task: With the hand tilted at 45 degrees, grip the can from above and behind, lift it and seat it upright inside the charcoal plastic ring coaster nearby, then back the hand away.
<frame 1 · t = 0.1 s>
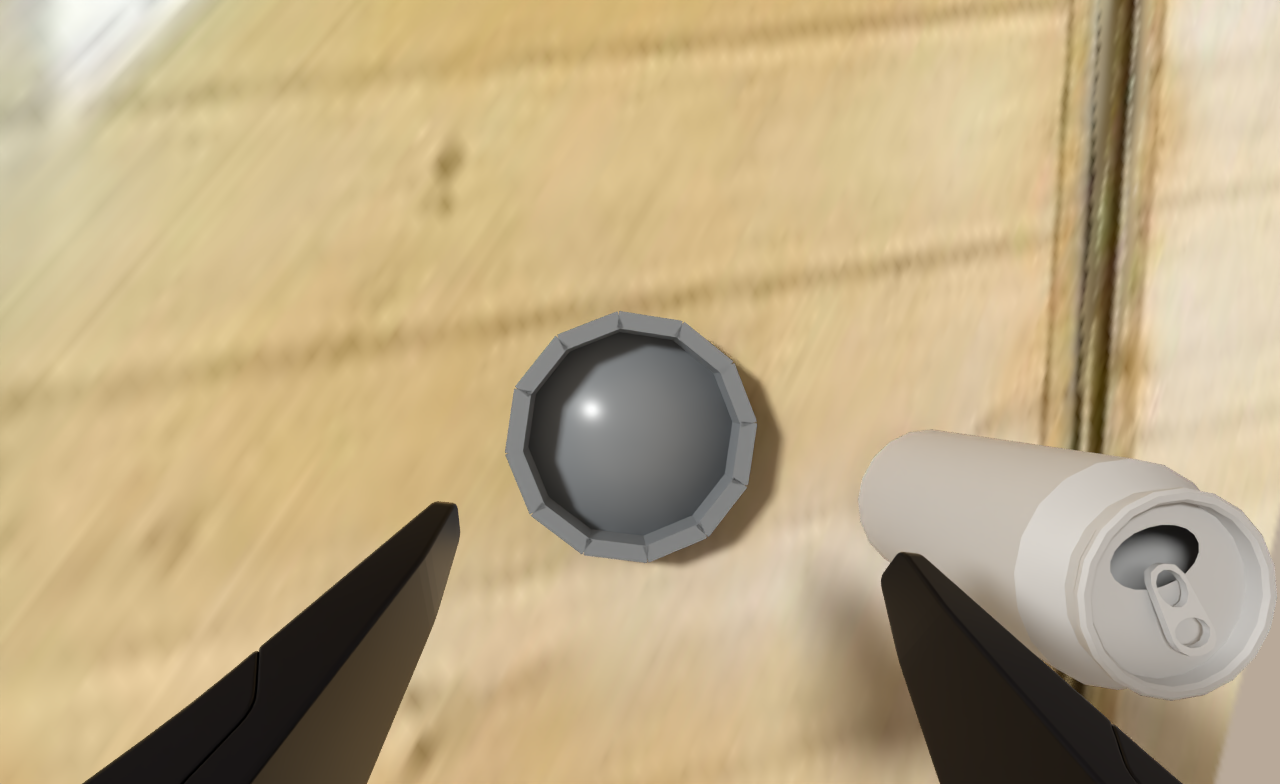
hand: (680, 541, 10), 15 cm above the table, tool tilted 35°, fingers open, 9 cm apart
can: (914, 496, 26), on the table
ring coaster: (631, 433, 24), on the table
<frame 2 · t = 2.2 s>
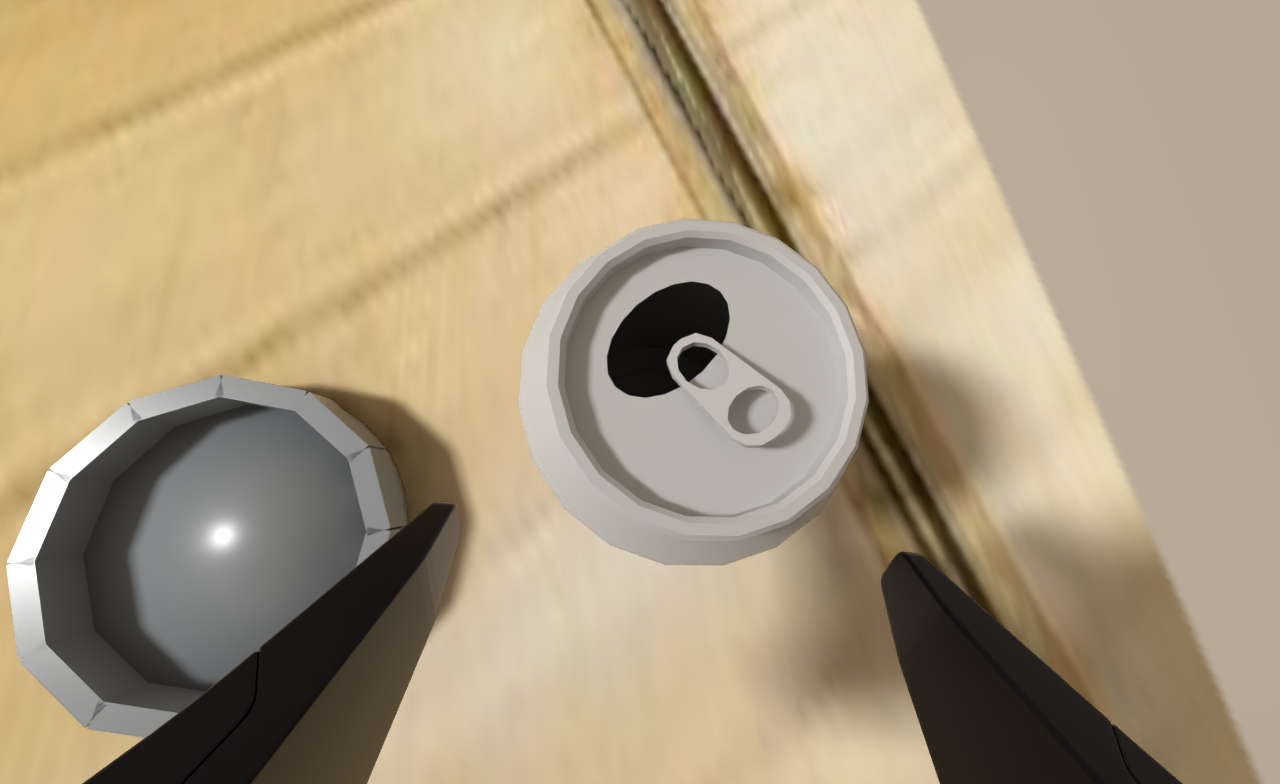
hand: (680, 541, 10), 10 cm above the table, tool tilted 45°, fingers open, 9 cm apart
can: (645, 436, 20), on the table
ring coaster: (250, 539, 18), on the table
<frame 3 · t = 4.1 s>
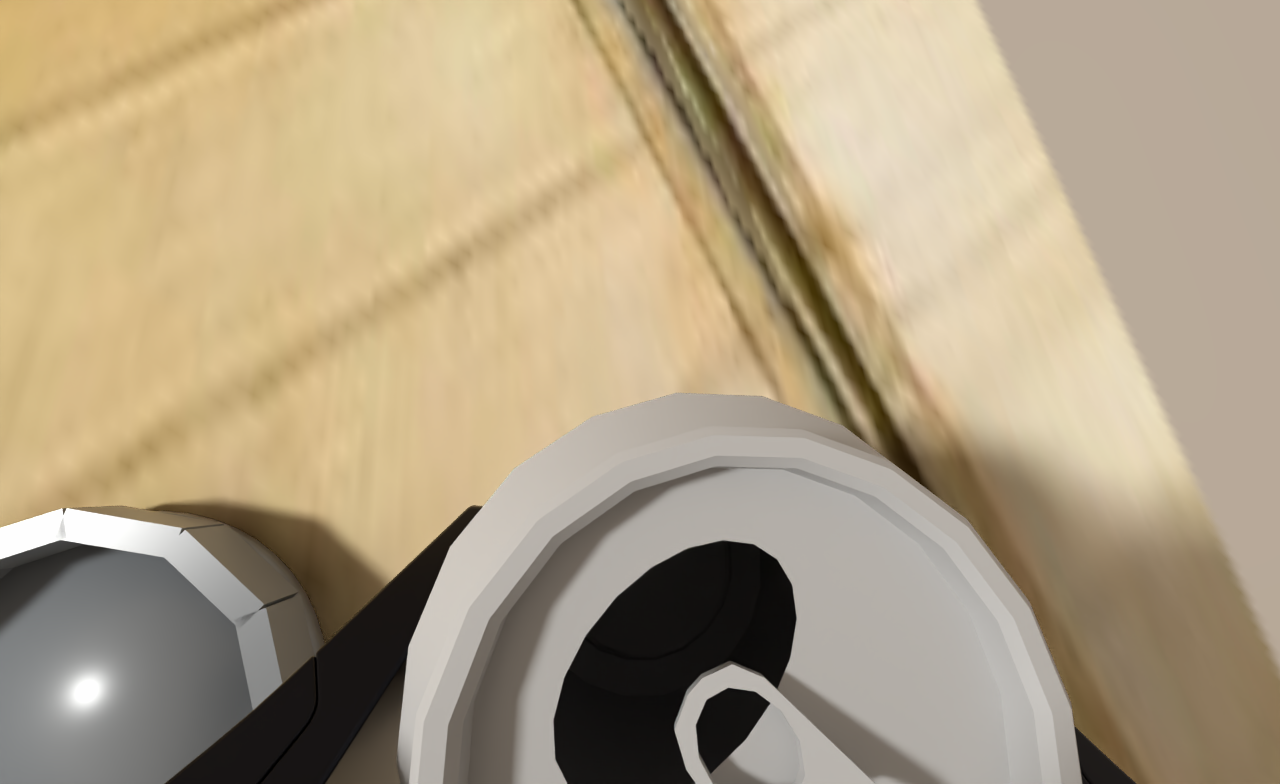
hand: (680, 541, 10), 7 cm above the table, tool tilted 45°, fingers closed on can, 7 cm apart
can: (642, 560, 16), on the table, touching gripper
ring coaster: (115, 717, 14), on the table
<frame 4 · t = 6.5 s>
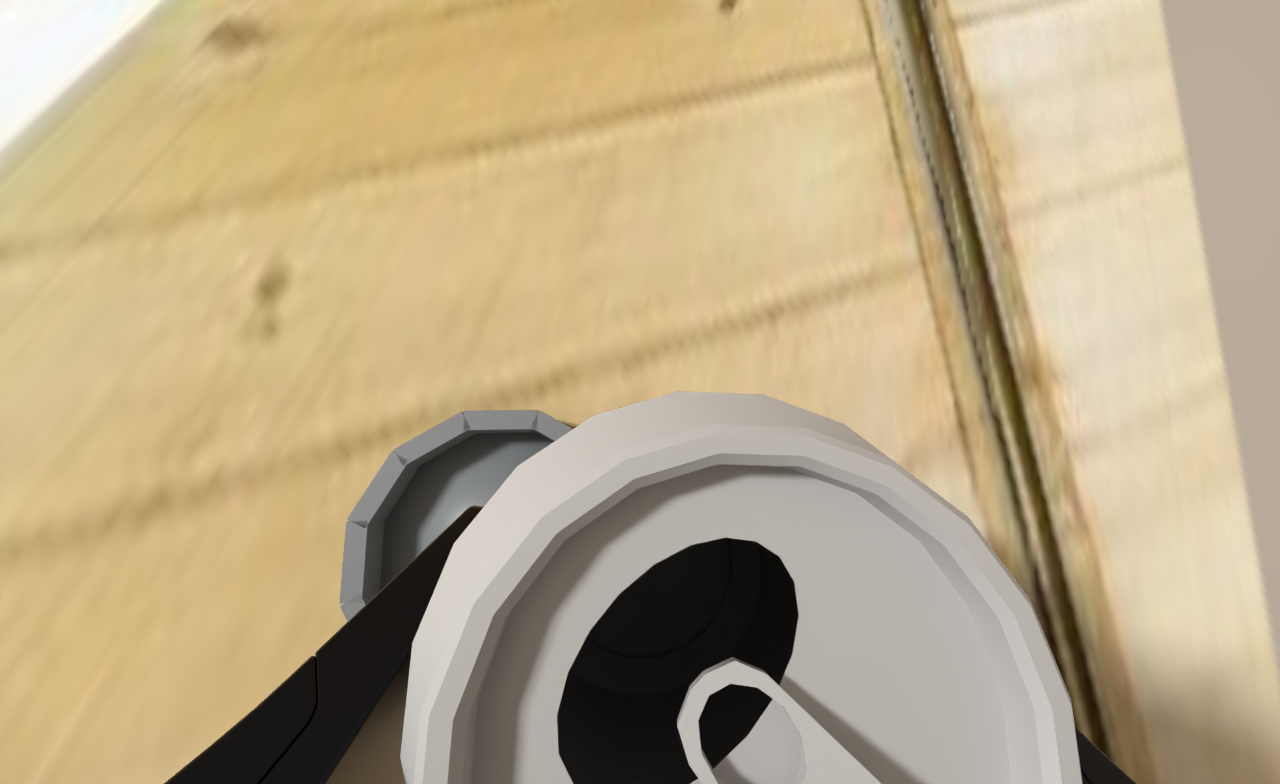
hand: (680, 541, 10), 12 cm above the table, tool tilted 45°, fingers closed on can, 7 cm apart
can: (642, 558, 16), point 5 cm above the table, touching gripper
ring coaster: (507, 547, 21), on the table
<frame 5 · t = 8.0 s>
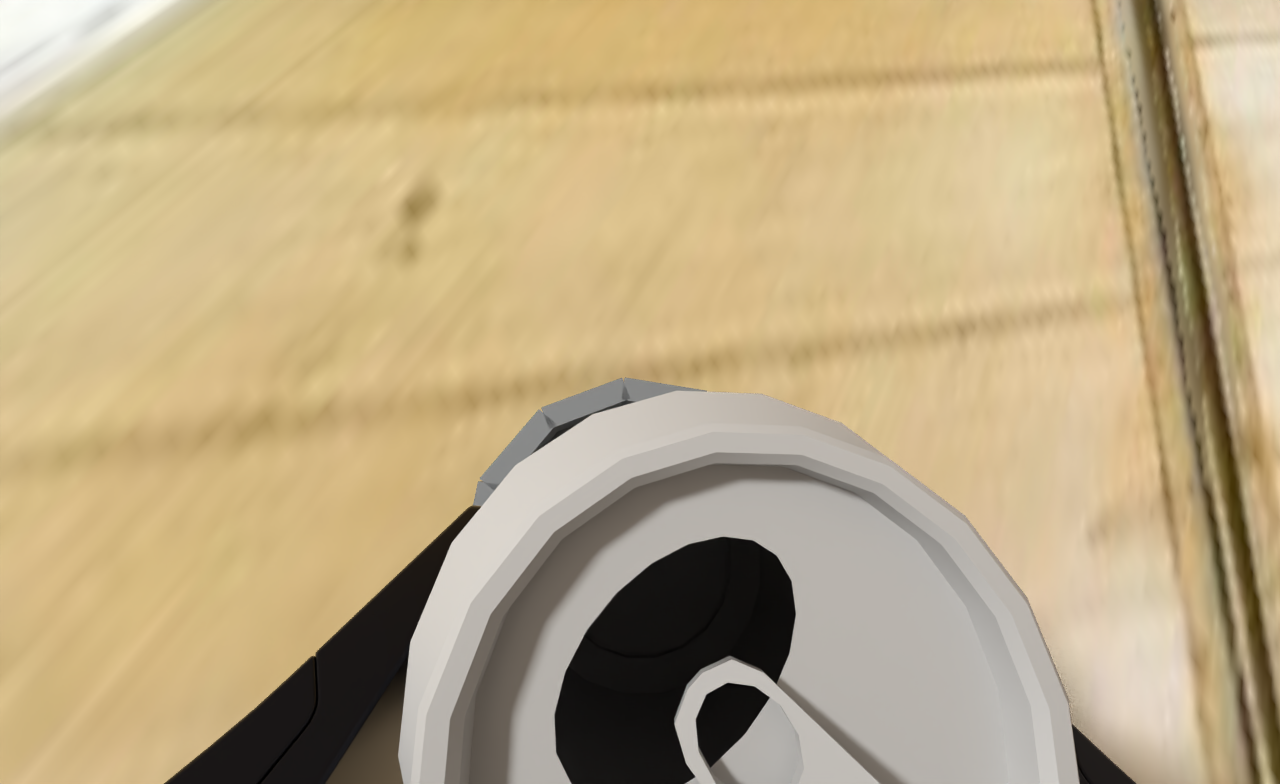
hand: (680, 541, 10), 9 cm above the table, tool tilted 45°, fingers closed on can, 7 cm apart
can: (642, 558, 16), point 2 cm above the table, touching gripper
ring coaster: (637, 543, 18), on the table
when the fingers open (9 cm above the table, at t = 9.1 s): can drops 1 cm, resting on ring coaster.
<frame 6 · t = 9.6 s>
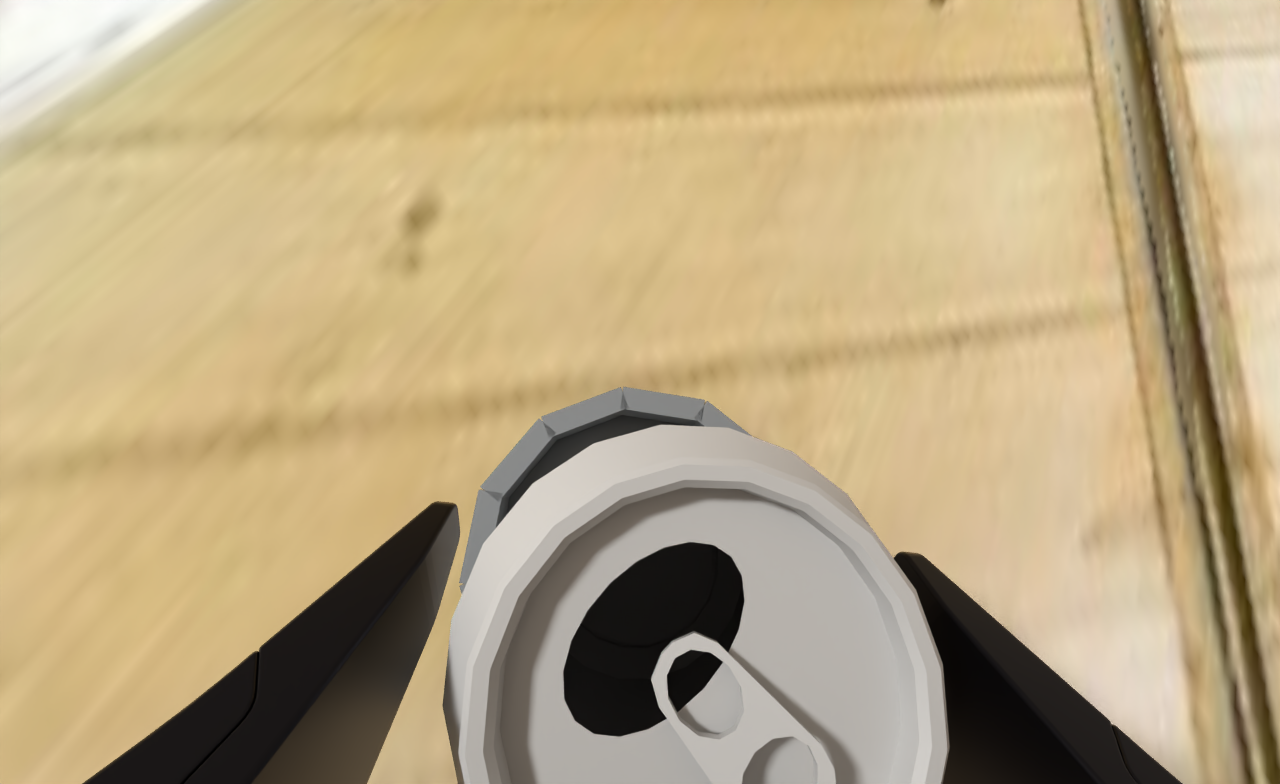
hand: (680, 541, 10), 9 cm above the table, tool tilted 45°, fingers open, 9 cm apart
can: (636, 557, 18), resting on ring coaster
ring coaster: (636, 550, 18), on the table
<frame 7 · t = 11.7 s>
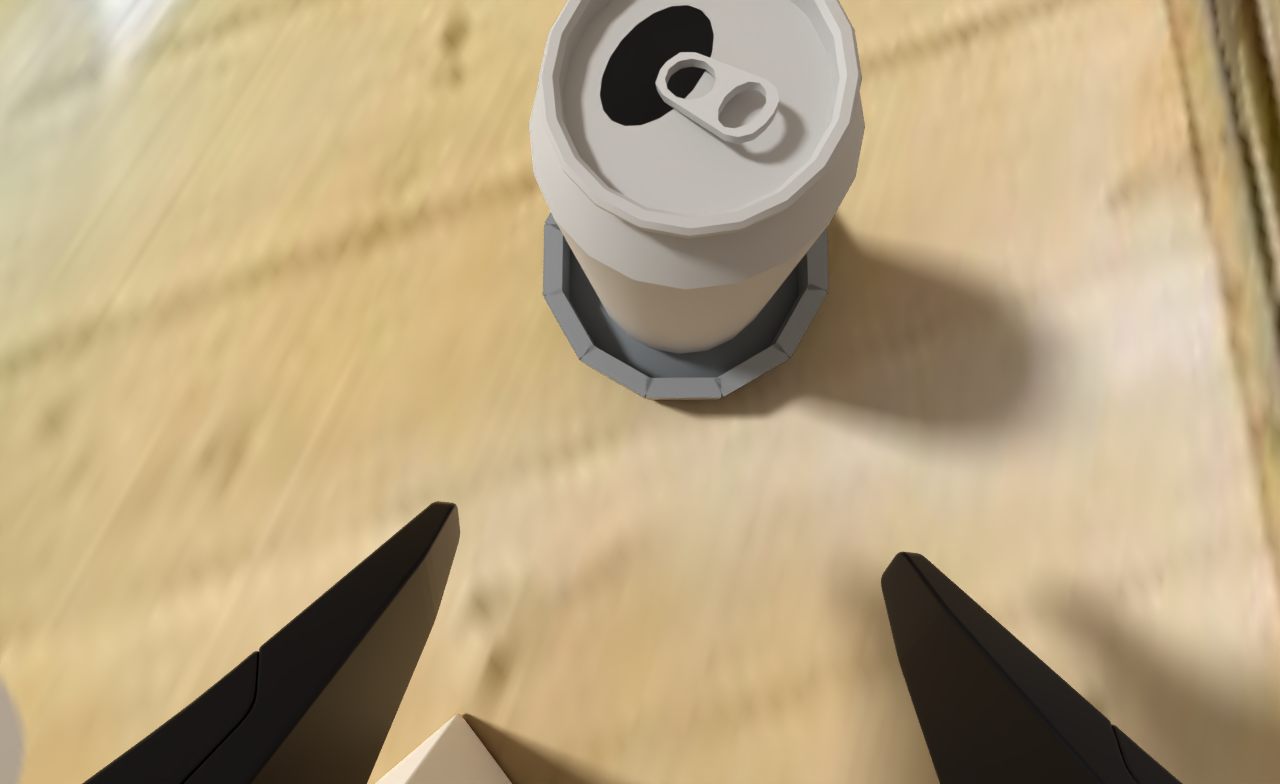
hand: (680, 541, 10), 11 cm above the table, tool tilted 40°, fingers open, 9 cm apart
can: (682, 274, 21), resting on ring coaster
ring coaster: (681, 272, 21), on the table
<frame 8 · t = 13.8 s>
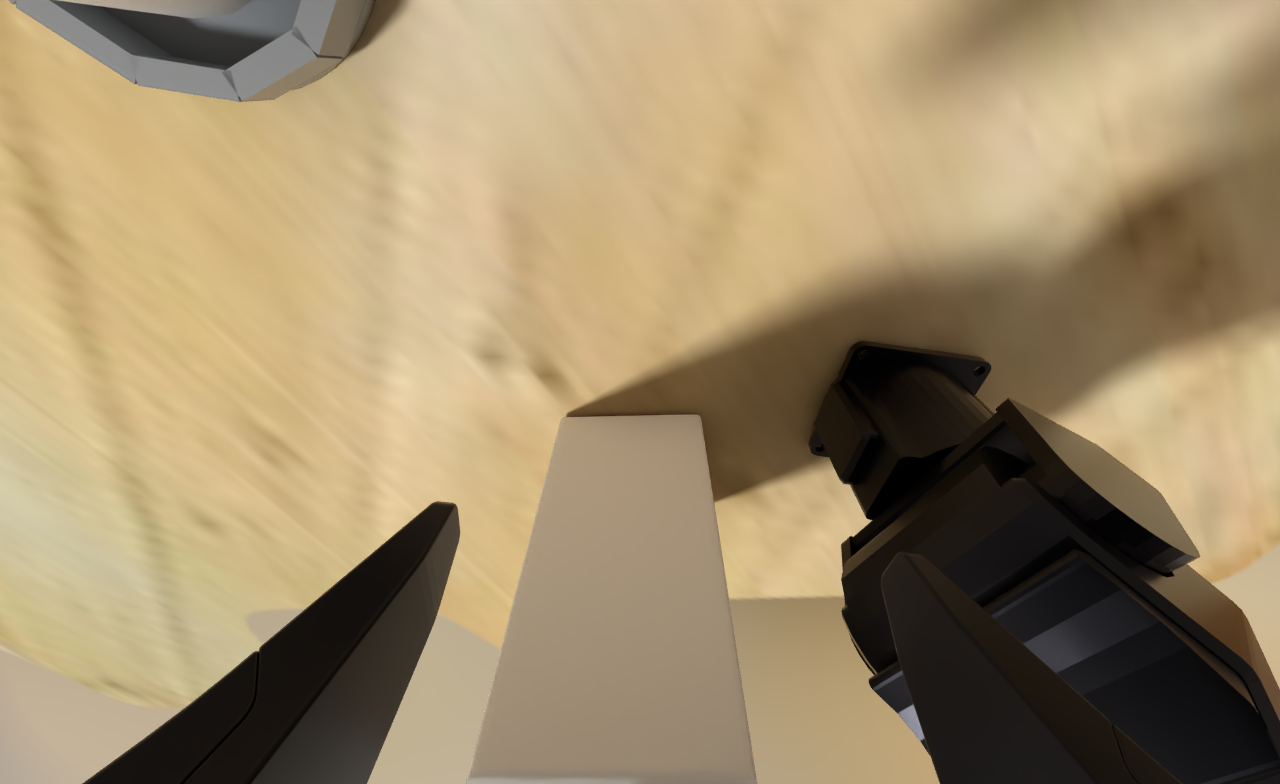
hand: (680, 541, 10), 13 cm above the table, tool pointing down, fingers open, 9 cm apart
milk carton: (633, 463, 26), on the table
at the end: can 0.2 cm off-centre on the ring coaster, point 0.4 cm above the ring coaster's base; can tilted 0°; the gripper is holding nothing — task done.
